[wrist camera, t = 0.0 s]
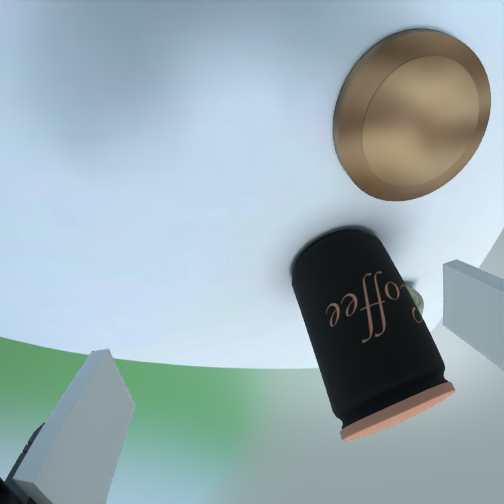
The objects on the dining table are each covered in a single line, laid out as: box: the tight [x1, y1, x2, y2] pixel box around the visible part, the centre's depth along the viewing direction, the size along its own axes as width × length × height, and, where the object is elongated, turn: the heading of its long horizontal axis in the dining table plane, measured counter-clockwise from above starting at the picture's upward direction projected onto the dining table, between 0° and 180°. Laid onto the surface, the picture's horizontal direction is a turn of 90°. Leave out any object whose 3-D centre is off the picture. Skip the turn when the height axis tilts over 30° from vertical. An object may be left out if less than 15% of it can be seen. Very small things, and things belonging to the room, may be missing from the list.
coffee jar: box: [292, 229, 455, 441], centre depth 28 cm, size 11×11×18 cm
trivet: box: [333, 29, 491, 201], centre depth 22 cm, size 16×16×1 cm
